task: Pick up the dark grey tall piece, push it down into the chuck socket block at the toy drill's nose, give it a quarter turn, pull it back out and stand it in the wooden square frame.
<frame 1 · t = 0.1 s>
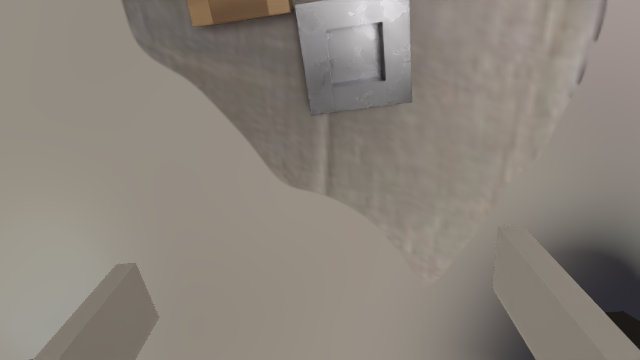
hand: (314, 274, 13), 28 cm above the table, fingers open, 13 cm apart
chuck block: (353, 52, 36), on the table
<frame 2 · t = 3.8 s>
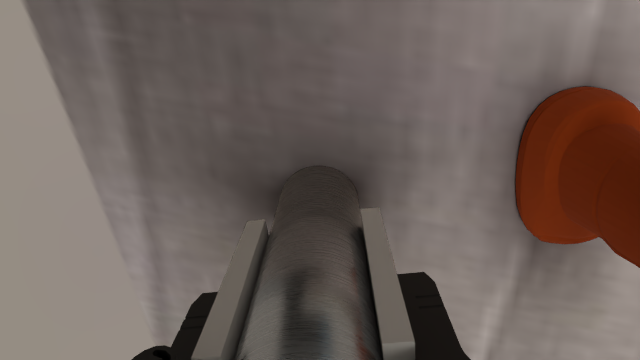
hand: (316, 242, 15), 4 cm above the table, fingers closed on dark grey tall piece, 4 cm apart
dark grey tall piece: (319, 201, 18), on the table, touching gripper
toy drill: (558, 239, 19), on the table
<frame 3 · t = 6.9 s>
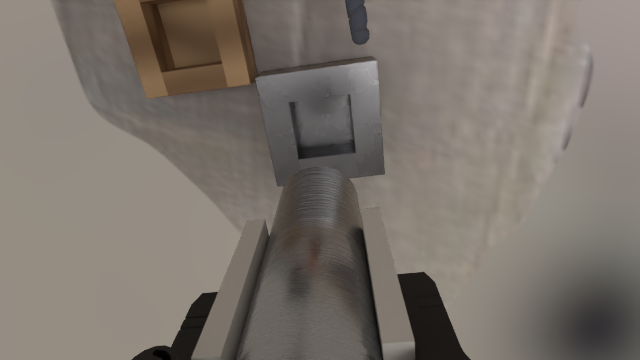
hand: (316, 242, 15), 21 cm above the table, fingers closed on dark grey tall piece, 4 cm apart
dark grey tall piece: (319, 202, 18), point 17 cm above the table, touching gripper
wooden square frame: (197, 32, 31), on the table
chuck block: (323, 118, 34), on the table
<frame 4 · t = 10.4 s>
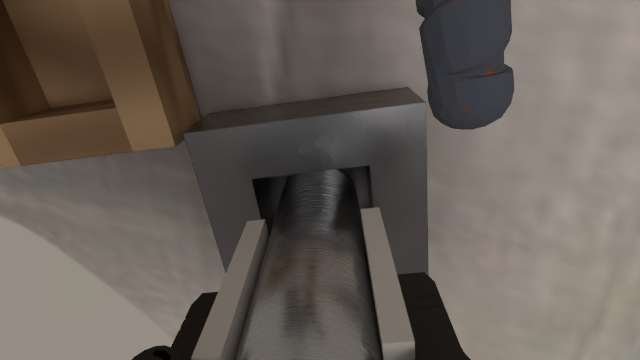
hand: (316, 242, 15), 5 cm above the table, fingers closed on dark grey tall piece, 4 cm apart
dark grey tall piece: (319, 201, 18), point 1 cm above the table, touching gripper
wooden square frame: (85, 44, 17), on the table
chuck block: (320, 190, 20), on the table
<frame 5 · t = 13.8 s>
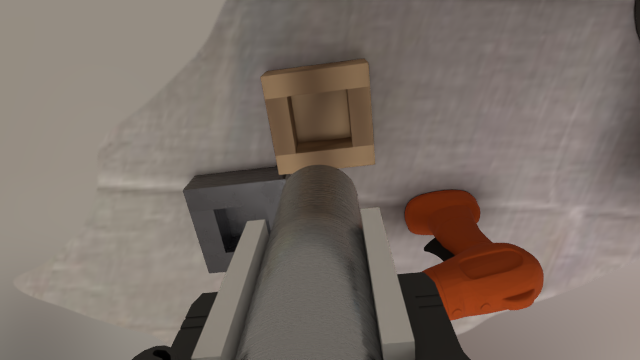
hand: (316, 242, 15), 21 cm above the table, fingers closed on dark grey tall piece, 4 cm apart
dark grey tall piece: (319, 200, 18), point 17 cm above the table, touching gripper
toy drill: (397, 216, 39), on the table
wooden square frame: (321, 113, 34), on the table
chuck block: (251, 212, 39), on the table
when the fingers open (5 cm above the table, at t = 17.2 s): dark grey tall piece stays where it is, resting on wooden square frame.
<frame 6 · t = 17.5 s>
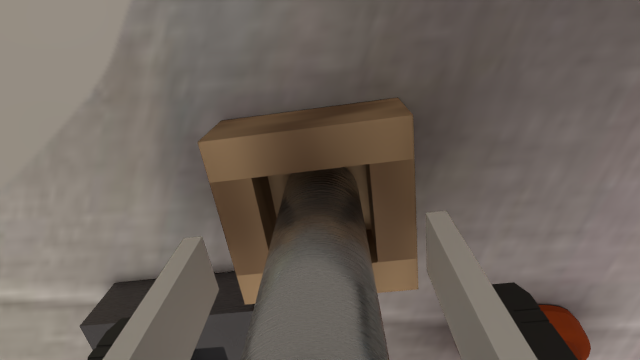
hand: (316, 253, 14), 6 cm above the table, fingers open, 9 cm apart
dark grey tall piece: (321, 193, 19), point 1 cm above the table, touching wooden square frame
toy drill: (445, 338, 24), on the table
wooden square frame: (319, 189, 20), on the table
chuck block: (210, 333, 24), on the table
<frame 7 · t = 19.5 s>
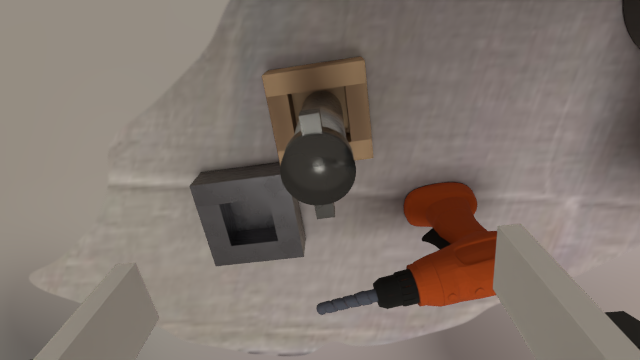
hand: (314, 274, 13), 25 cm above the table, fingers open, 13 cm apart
dark grey tall piece: (321, 111, 35), point 1 cm above the table, touching wooden square frame
toy drill: (397, 208, 40), on the table
wooden square frame: (320, 109, 35), on the table
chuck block: (255, 206, 40), on the table
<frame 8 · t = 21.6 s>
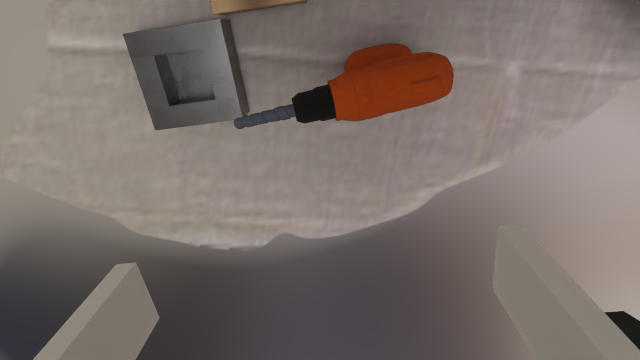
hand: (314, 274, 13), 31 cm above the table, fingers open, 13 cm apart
toy drill: (339, 76, 40), on the table
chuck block: (196, 73, 40), on the table
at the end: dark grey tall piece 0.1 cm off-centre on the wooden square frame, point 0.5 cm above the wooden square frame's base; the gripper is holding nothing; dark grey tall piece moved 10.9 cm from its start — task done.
